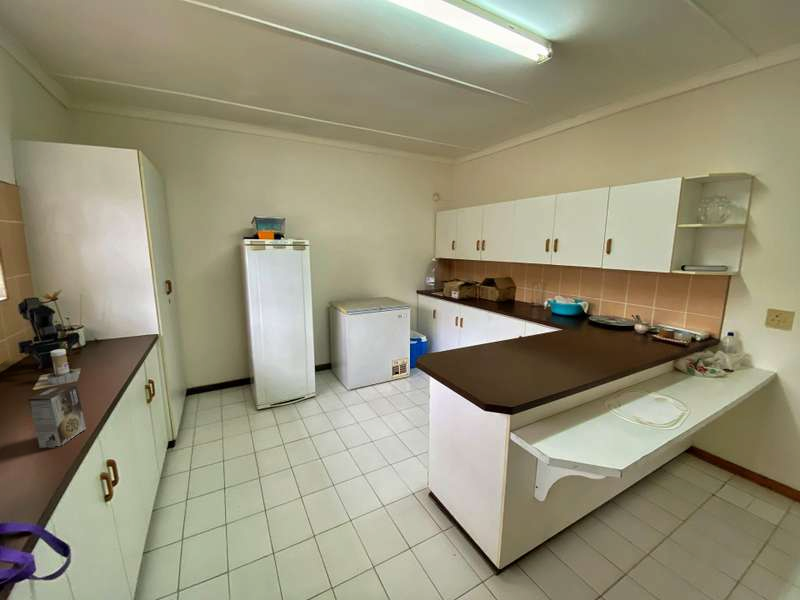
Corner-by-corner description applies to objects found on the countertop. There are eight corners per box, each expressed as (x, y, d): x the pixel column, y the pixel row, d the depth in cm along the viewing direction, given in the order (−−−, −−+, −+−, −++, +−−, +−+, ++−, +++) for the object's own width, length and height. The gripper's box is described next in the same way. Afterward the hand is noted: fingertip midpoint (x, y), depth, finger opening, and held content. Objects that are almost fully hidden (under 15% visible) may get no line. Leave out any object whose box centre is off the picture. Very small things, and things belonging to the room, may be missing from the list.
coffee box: (66, 430, 107) (56, 384, 104) (87, 429, 107) (78, 384, 104) (38, 448, 98) (26, 398, 95) (61, 447, 98) (50, 397, 95)
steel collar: (50, 379, 143) (49, 372, 142) (79, 374, 148) (77, 367, 148) (47, 386, 136) (45, 379, 135) (76, 380, 142) (75, 374, 141)
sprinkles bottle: (66, 381, 141) (60, 351, 138) (53, 382, 140) (47, 352, 137) (73, 377, 145) (68, 348, 142) (61, 377, 144) (55, 348, 141)
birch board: (41, 377, 147) (40, 375, 147) (81, 370, 155) (80, 368, 155) (33, 392, 133) (32, 389, 133) (77, 383, 141) (77, 380, 141)
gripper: (13, 323, 137) (23, 354, 133) (74, 315, 152) (85, 342, 148) (14, 338, 143) (24, 368, 139) (73, 328, 158) (83, 355, 154)
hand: (55, 357), depth 145 cm, fingers open, 9 cm apart
